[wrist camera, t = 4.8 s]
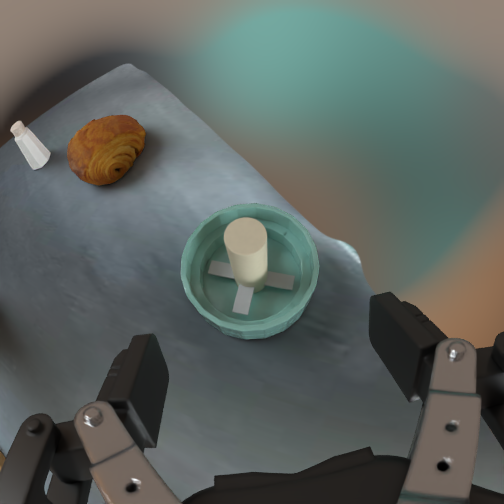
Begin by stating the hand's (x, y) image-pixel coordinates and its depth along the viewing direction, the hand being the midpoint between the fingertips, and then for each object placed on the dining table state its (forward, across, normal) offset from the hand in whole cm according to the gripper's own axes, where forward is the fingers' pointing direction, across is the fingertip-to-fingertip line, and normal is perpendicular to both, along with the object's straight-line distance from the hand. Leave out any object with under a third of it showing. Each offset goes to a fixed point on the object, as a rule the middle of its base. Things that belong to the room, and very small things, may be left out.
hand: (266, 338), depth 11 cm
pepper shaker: (+50, +39, -14) cm, 65 cm away
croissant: (+46, +21, -10) cm, 52 cm away
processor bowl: (+27, 0, +10) cm, 29 cm away
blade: (+27, 0, +9) cm, 28 cm away
